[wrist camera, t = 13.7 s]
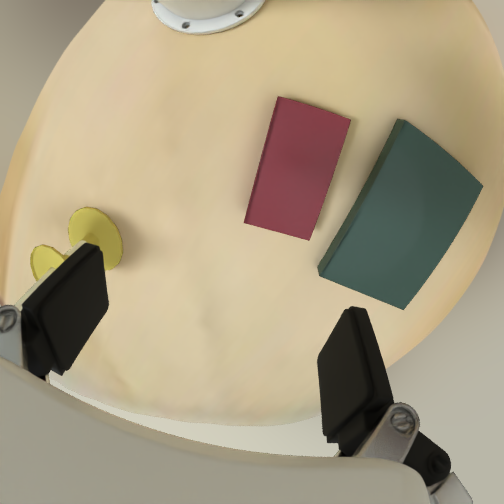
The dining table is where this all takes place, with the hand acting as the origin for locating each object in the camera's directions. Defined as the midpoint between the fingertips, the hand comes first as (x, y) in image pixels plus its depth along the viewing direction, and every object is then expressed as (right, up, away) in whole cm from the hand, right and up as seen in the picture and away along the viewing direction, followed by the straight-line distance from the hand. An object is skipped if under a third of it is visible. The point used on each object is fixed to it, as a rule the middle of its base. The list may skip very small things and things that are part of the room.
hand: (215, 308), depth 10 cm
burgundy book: (+6, +11, +18) cm, 21 cm away
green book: (+19, +6, +19) cm, 28 cm away
